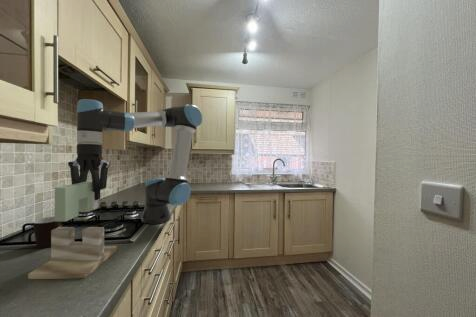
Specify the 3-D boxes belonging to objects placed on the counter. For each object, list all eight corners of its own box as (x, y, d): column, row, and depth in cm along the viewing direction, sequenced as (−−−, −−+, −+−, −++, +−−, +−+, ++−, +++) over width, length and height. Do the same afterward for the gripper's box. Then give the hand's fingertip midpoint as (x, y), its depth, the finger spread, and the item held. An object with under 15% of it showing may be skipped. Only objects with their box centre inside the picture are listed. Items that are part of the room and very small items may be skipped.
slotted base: (72, 250, 79) (72, 220, 79) (116, 250, 80) (116, 220, 80) (28, 279, 61) (28, 239, 61) (85, 278, 62) (85, 239, 62)
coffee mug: (44, 250, 79) (44, 224, 79) (26, 248, 81) (26, 222, 81) (74, 238, 90) (74, 215, 90) (58, 236, 92) (58, 213, 92)
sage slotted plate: (65, 221, 63) (65, 187, 63) (54, 221, 63) (54, 187, 62) (97, 207, 79) (98, 181, 79) (89, 207, 79) (89, 180, 78)
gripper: (58, 142, 71) (57, 211, 72) (107, 143, 72) (106, 211, 73) (73, 143, 79) (73, 206, 79) (118, 144, 80) (117, 206, 80)
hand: (89, 208), depth 76 cm, fingers closed on sage slotted plate, 3 cm apart
